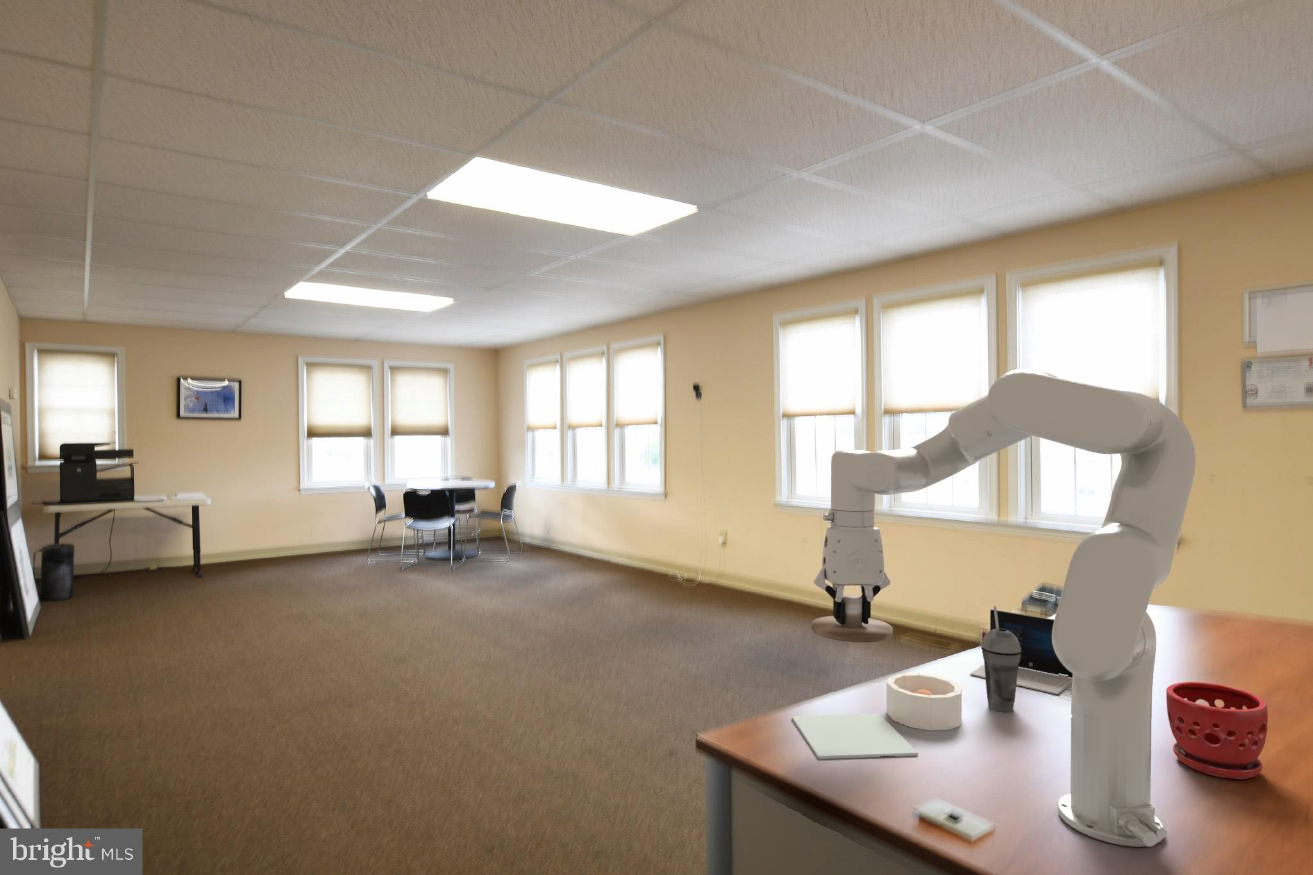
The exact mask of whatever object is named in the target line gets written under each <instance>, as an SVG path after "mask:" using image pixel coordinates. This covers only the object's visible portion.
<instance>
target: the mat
mask: <svg viewBox="0 0 1313 875" xmlns="http://www.w3.org/2000/svg"><path fill="white" fill-rule="evenodd" d="M791 719H792V721H793V723H794V724H795V726H796V727H797V728H798V730H799V731H800V733H801V734H802V736H803V737H804V739H805V741H806V742H807V744H808V745H809V747H810V748H811V750H812V751H813V753H814V754H815V755H816V757H817V759H818V760H827V759H829V760H830V759H858V758H859V759H860V758H861V759H862V758H883V757H882V756H895V757H917V756H919V752H918V751H917V750H916V749H915V748H914V747H913V746H912V745H911V744H910V743H909V742H908V741H907V740H906V739H905V738H904V737H903V736H902V735H901V734H900V733H899V732H898V731H897V730H896V729H895V728H894V727H893V726H892V725H891V724H890V722H888V721H887V719H885V718H884V717H883V716H882V715H881V713H865V714H864V713H863V714H861V713H860V714H857V713H856V714H827V715H826V714H825V715H823V714H822V715H796V716H795V715H792V716H791ZM880 756H881V757H880Z"/></svg>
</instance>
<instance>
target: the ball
mask: <svg viewBox="0 0 1313 875" xmlns="http://www.w3.org/2000/svg"><path fill="white" fill-rule="evenodd" d="M915 693H917V694H924V695H932V693H931V692H929V691H927V690H918V691H917V692H915Z"/></svg>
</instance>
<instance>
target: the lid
mask: <svg viewBox="0 0 1313 875" xmlns="http://www.w3.org/2000/svg"><path fill="white" fill-rule="evenodd" d="M842 598H843V602H845V624H844V625H841V624H839V623H838V622H837V621H836V619H835V618H834V616H833V615H828V616H821V617H818V618H815V619H813V620H812V621H811V631H812V633H814V634H816V635H817V636H820V637H821V638H826V639H829V640H834V641H840V642H848V643H877V642H885V641H886V640H890V639H891V638H892V637H893V635H894V628H893V626H892V625H891V624H889V623H887V622H885V621H882V620H880V619H875V618H871V617H870V618H869V619H868V624H864V623H863V622H862V597H861V596H859V595H851V594H849V595H843V597H842Z"/></svg>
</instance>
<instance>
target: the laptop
mask: <svg viewBox="0 0 1313 875" xmlns="http://www.w3.org/2000/svg"><path fill="white" fill-rule="evenodd" d="M989 613H990V615H989V621H990V622H989V631H991V630H993V629H996V623H995V614H994V608H993V609H992V608H991V609H990V611H989ZM997 616H998V624H999V628H1002V629H1006V630H1008V631H1010V632H1012V633H1013V634H1014V635H1015V636H1016V637H1017V639H1018V641H1019V644H1020V647H1021V652H1022V653H1021V657H1020V661H1019V664H1018V673H1017V683H1016V687H1020V686H1022V687H1021V688H1024V687H1025V689H1028V688H1030V689H1029V690H1034V691H1036V692H1037V691H1038V692H1042V693H1046V694H1051V695H1059V694H1061V693H1063V692H1064V690H1066V689H1067V688H1069V687H1070V686H1072V676H1073V673H1072V672H1070V671H1069V670H1068V669H1067V668H1066V667H1065V666H1064V665H1063V664H1062V663H1061V662H1060V660H1059V659H1058V657H1057V655H1056V653H1055V651H1054V648H1053V643H1052V629H1053V624H1054V619H1055V618H1047V617H1041V616H1036V615H1035V616H1034V615H1030V614H1029V615H1028V614H1022V613H1017V612H1012V611H1011V612H1010V611H1004V610H998V609H997ZM969 675H970V676H973V677H977V678H980V679H981V678H982V679H985V666H984V664H983V665H982V666H980V667H979V668H977V669H974V670H973V671H972V672H970V673H969Z"/></svg>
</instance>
